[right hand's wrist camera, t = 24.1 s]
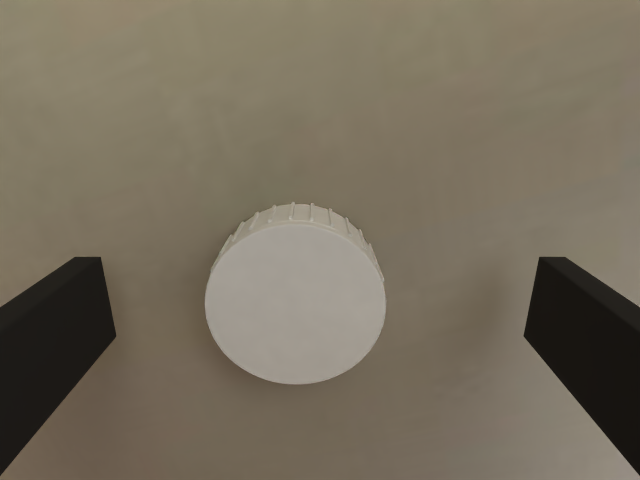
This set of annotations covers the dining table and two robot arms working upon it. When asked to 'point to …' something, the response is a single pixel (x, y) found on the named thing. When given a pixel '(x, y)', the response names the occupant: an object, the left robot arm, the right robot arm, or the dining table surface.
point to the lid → (296, 295)
